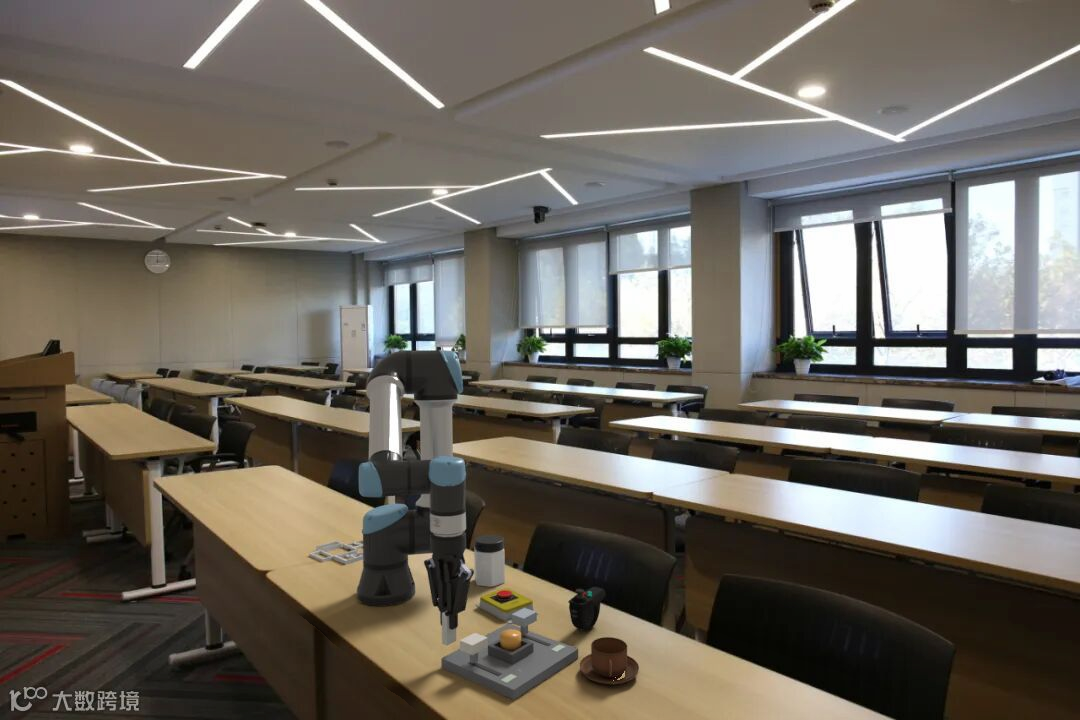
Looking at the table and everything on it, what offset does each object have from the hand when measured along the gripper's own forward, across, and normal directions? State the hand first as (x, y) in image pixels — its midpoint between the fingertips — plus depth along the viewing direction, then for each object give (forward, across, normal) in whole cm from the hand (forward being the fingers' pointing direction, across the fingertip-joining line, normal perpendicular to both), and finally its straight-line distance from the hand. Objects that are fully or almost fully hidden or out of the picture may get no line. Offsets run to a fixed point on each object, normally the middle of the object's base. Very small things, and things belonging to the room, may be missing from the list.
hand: (449, 642), depth 144 cm
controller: (+5, +13, +32) cm, 35 cm away
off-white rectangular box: (+3, +7, 0) cm, 8 cm away
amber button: (+1, +10, +8) cm, 13 cm away
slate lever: (+3, +7, +16) cm, 18 cm away
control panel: (+5, +10, +8) cm, 14 cm away
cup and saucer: (+5, +29, +17) cm, 34 cm away
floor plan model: (+5, -77, +26) cm, 81 cm away
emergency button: (+5, -9, +28) cm, 30 cm away
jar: (+5, -25, +39) cm, 46 cm away
